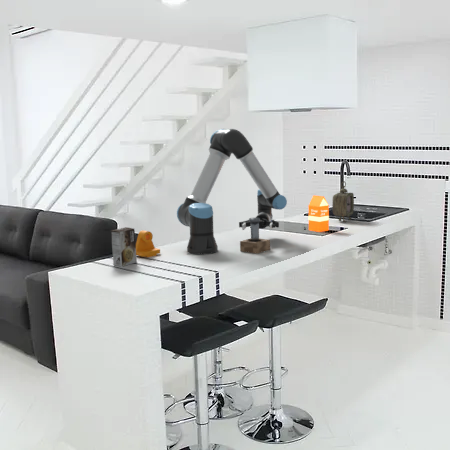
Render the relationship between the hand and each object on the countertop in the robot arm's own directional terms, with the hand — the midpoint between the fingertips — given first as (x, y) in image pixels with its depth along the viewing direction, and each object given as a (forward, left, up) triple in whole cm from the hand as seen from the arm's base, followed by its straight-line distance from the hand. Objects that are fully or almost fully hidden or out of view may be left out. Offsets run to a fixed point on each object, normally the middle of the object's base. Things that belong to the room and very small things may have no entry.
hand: (256, 227), depth 287 cm
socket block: (-1, -2, -11) cm, 11 cm away
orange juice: (+28, +55, -11) cm, 63 cm away
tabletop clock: (+42, +88, -11) cm, 98 cm away
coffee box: (-57, -33, -11) cm, 67 cm away
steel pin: (-1, -2, -11) cm, 11 cm away
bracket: (-52, -15, -11) cm, 55 cm away
